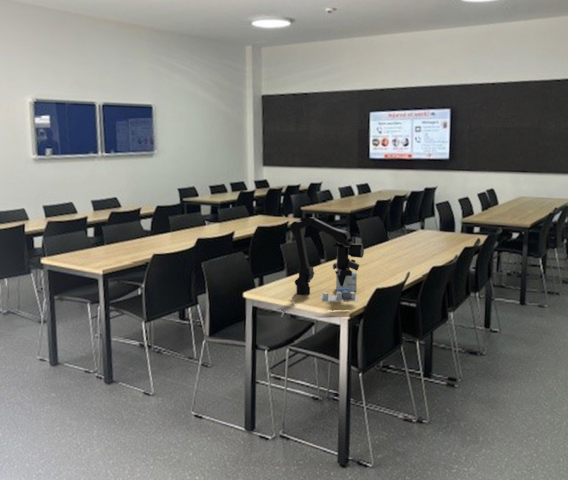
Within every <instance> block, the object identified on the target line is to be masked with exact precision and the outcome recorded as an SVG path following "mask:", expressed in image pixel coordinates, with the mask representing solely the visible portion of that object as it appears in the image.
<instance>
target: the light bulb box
mask: <svg viewBox="0 0 568 480" xmlns="http://www.w3.org/2000/svg"><path fill="white" fill-rule="evenodd" d="M351 271H352V270H351ZM335 276H336V277H335V278H336V279H335V280H336V281H335V283H336V285H335V286H336V289H335V290H336V292H338V288H350V292H357V280H358V279H357V278H358V274H357V271H356V270H353V271H352V276H346V278H345V281H344V284H343V286H340V283H339V280H338V278H337V275H336V274H335Z"/></svg>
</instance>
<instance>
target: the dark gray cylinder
mask: <svg viewBox="0 0 568 480" xmlns="http://www.w3.org/2000/svg"><path fill="white" fill-rule="evenodd" d="M342 296H343V297H344V298H345V299H346V300H349V299H350V298H351V295H350V294H349V293H348V291H346V290H344V291H343V292H342Z"/></svg>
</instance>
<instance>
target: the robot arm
mask: <svg viewBox="0 0 568 480" xmlns="http://www.w3.org/2000/svg"><path fill="white" fill-rule="evenodd" d="M310 226H312V227H313V228H315V229H318V230H319V231H320V232H323V233H325V234H327V235H329V236H331V237H332V239H334V240H335V241H336V243H334V245H333V247H335V248H337V250H336V257H335V260H336V262H335V263H333V264H332V269H333V270H334V272H335V276H336V275H337V278H338V280H339V283H340V286H343V284H344V281H345V278H346V276H352V270H354V271H355V272H357V271H358V270H359V269H360V264H359V263H357V262H356V260H355V259H353V258H360V259H363V257H364V253H365V250H364V244H362V243H355V242H354V240H353V239H352V238H351V233H350V232H349V231H347V230H344V229H341V228H340V229H339V228H336V227H334V226H332V225H329V224H328V223H327V222H324V221H322V220H319V219H318V218H316V217H315V216H312V217H311V216H310V217H308V218H306V219H304V220H296V221H292V223H291V224H290V225H289V227H290V231H291V234H292V236H293V237H294V240H295V244H296V251H297V255H298V261H299V269H298V278H297V279H295V280H294V284H295V286H296V288H295V289H296V290H295V291H296V292H295V293H296V295H300V296H306V295H310V294H311V287H310V282H311V281H312V279H313V278H314V277H315V276H314V275H315V272H314V266H313V265H312V266H311V265H310V263H309V258H308V252H307V247H306V241H305V234H306V228H307V227H310ZM349 256H350V258H351V257H352V259H350V258H349ZM335 269H336V271H335ZM351 269H352V270H351Z"/></svg>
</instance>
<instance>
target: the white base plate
mask: <svg viewBox="0 0 568 480" xmlns="http://www.w3.org/2000/svg"><path fill="white" fill-rule="evenodd" d="M344 290H346V291H348V293H349V294H350V295H351V298H350V299H349V300H346V299H345V298H344V297H343V296H342V292H343V291H344ZM319 297H320V299H321V300H322V302H324V303H339V302H340V303H342V302H343V303H344V302H348V303H349V302H350V303H351V302H359V299H358V298H357V297H356V292H355V291H350V288H338V291H336V294H335V295H329V293H328V292H327V291H325V292H324V291H323V292H322V295H319Z"/></svg>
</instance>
